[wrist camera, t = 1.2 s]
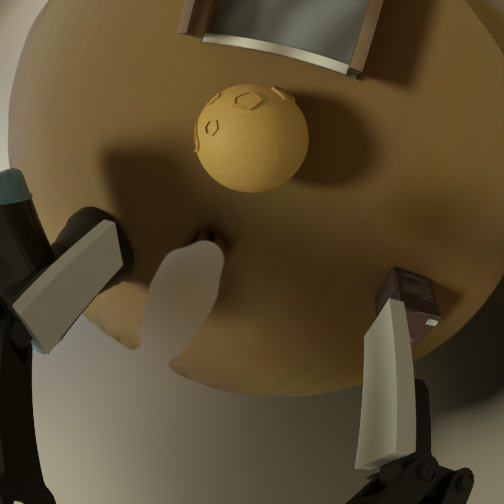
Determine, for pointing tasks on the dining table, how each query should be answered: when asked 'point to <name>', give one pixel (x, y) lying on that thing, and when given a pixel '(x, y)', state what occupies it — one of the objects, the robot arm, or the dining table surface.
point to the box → (411, 302)
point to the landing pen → (289, 28)
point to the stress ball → (251, 137)
